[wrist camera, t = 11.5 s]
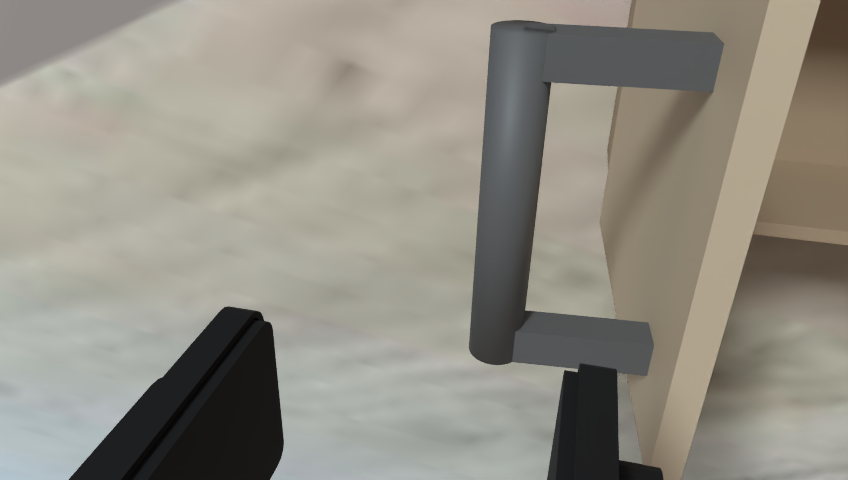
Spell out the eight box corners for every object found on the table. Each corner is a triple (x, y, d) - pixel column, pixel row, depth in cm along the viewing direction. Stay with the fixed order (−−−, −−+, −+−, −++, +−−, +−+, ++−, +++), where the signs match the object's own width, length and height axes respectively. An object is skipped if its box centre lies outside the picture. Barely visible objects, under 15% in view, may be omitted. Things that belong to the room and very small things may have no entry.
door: (829, -31, 11) (490, -45, 12) (679, 486, 17) (457, 458, 18) (676, -92, 23) (512, -97, 24) (618, 223, 29) (488, 212, 30)
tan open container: (1005, -92, 28) (1135, -75, 21) (899, 178, 34) (974, 260, 27) (648, -105, 31) (662, -93, 24) (607, 149, 37) (609, 217, 30)
